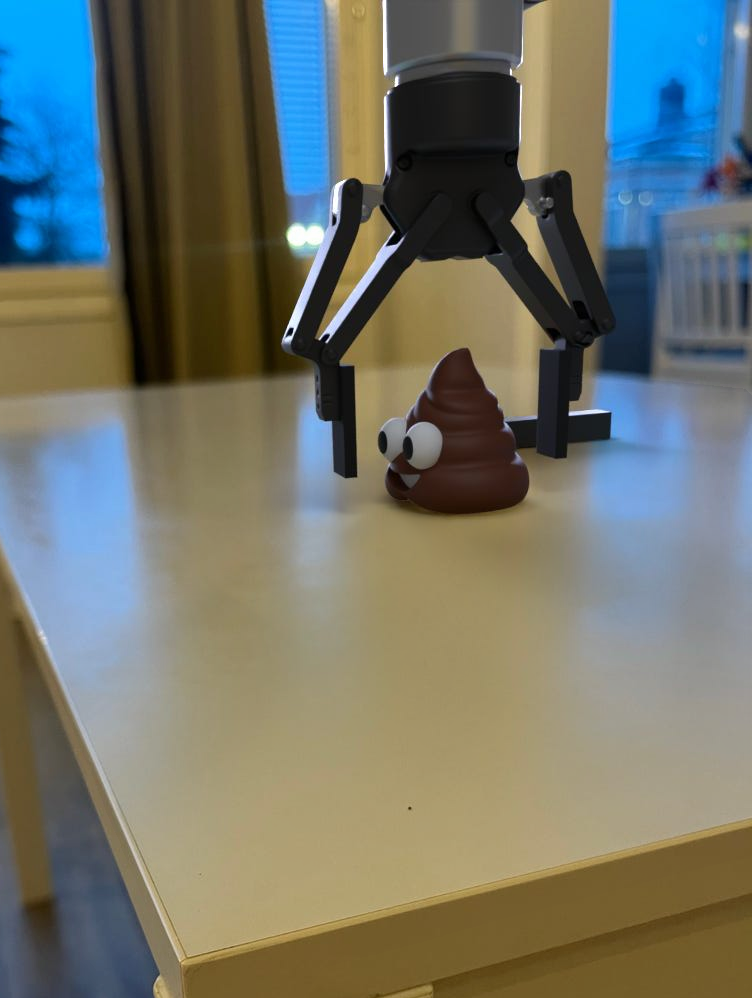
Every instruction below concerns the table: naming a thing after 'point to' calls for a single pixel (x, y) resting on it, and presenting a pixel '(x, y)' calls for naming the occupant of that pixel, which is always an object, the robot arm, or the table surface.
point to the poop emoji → (454, 446)
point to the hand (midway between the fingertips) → (450, 465)
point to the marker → (579, 427)
